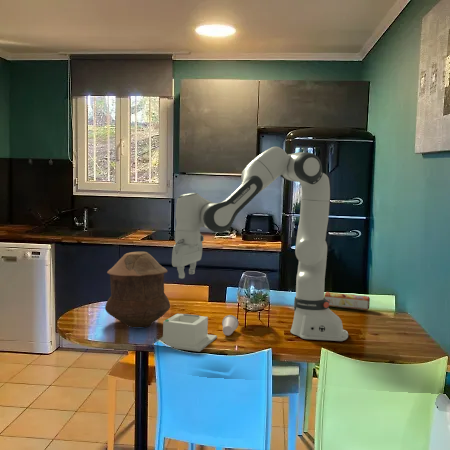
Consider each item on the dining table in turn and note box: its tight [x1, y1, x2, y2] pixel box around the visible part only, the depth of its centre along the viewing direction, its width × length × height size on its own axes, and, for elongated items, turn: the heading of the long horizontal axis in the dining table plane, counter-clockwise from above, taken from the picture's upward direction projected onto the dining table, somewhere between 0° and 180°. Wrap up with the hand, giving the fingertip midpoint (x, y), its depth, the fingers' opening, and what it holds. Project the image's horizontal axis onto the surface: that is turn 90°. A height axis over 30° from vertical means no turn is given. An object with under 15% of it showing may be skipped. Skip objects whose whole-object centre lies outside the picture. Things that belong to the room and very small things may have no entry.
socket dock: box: [151, 313, 218, 352], centre depth 191 cm, size 18×18×9 cm
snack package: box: [324, 291, 371, 311], centre depth 251 cm, size 21×7×7 cm
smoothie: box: [221, 314, 239, 336], centre depth 204 cm, size 6×6×14 cm
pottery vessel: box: [104, 251, 171, 328], centre depth 208 cm, size 26×26×30 cm
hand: (186, 276), depth 189 cm, fingers open, 8 cm apart
